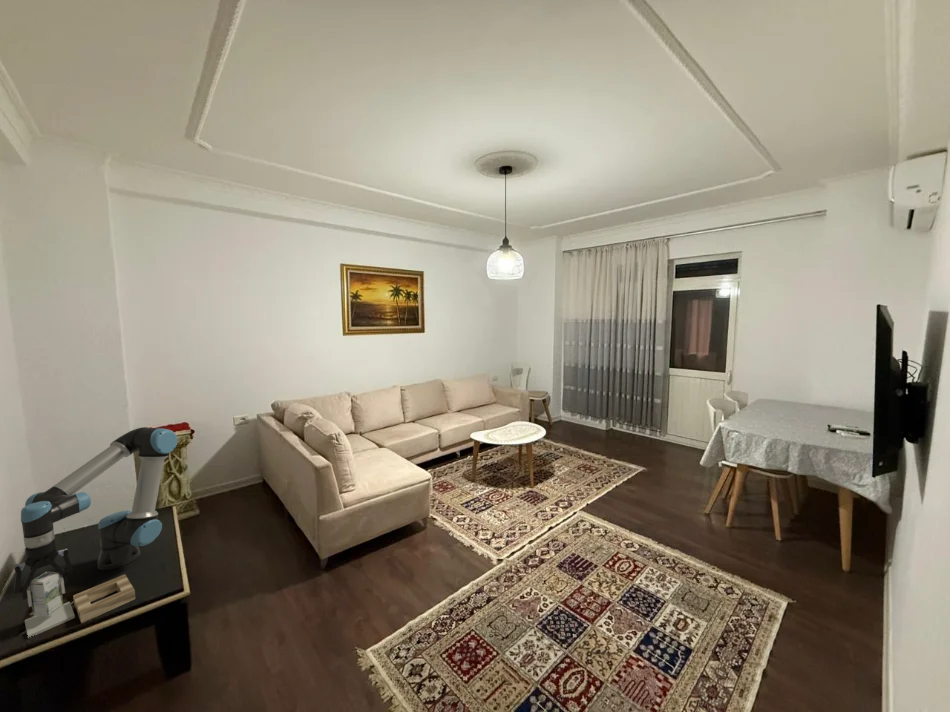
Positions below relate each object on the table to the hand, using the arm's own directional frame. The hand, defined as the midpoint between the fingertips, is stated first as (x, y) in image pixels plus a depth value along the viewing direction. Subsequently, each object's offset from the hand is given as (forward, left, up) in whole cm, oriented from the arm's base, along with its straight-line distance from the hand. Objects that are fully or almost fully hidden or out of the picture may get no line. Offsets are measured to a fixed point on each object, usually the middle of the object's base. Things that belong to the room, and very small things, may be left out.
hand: (47, 598), depth 147 cm
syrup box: (0, 0, -6) cm, 6 cm away
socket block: (+4, +15, -9) cm, 18 cm away
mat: (0, 0, -9) cm, 9 cm away
